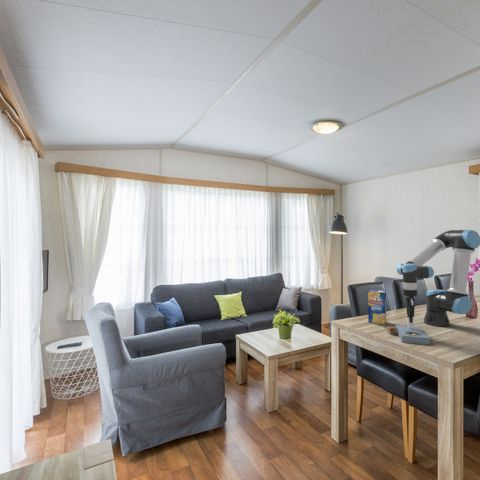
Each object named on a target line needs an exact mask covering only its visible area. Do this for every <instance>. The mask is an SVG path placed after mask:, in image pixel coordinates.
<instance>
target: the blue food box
mask: <svg viewBox="0 0 480 480" xmlns="http://www.w3.org/2000/svg"><path fill="white" fill-rule="evenodd" d="M367 296H368V297H367V303H368V305H367V307H368V310H367V313H368V317H367V318H368V319H367V321H368V323H370V324H378V323H379V324H380V325H386V323H387V290H383V289H380V290H379V289H368V291H367Z"/></svg>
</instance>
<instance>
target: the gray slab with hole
mask: <svg viewBox="0 0 480 480" xmlns="http://www.w3.org/2000/svg"><path fill="white" fill-rule="evenodd" d="M394 327H396V328H397V336H398V338H399V339H400V342H401V343H410V344H419V345H431V337H430V336H429V335H428V334H427V333H426V332H425V330H424V329H423V328H422V327H421V326H417V325H415V326H414V325H413V328H408V325H404V324H403V325H399V324H395V326H394ZM412 334H416V335H412Z"/></svg>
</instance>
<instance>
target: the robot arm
mask: <svg viewBox="0 0 480 480" xmlns="http://www.w3.org/2000/svg"><path fill="white" fill-rule="evenodd" d="M479 246H480V234H479V232H477V231H476V230H474V229H449V230H446V231H444V232H442V233H440V234H438V235H437V236H435V237H434V238H433V239H432V240H431V242H430V243H429V244H428V245H426V247H424V248H422V250H420V251H419V252H418V253H417V254H416V255H414V256H413V257H412V258H411V259H409V260H408V261H406V262H405V263H400V264H397V266H396V273H397V274H398V275H399V276H402V284H401V285H402V288H403V290H402V295H404V296H406V298H405V304H406V305H405V306H406V315H407V316H406V317H407V326H408V328H413V326H414V318H415V306H416V302H415V298H414V297H417V296H418V290H417V289H418V280H419V279H431V278H432V277H434V275H435V271H434V269H433V267H432V266H430V265H425V264H426V263H427V262H429V261H430V260H431V259H433V257H435V256H436V255H437V254H438V253H440V252H442V251H445V250H446V249H448V248H451V249H452V251H453V252H454V254H453V263H452V266H451V267H452V269H451V276H450V282H449V288H447V289H428V290H427V291H426V296H425V297H426V298H425V299H426V300H425V302H426V303H425V304H426V305H425V306H426V311H425V314H424V317H423V323H425V324H426V325H429V326H432V327H433V326H434V327H449V326H450V325H451V321H450V319H449V316H448V312H449V313H453V314H455V315H466V314H467V313H469V312H470V310H471V308H472V306H473V302H472V299H471V298H470V297H469V293H468V292H467V285H468V278H469V277H468V276H469V271H470V263H471V257H472V254H473V253H475V250H476V249H478V248H479Z"/></svg>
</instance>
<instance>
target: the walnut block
mask: <svg viewBox="0 0 480 480" xmlns="http://www.w3.org/2000/svg"><path fill="white" fill-rule="evenodd" d="M386 329H387V330H386V332H387V333H388V334H389V335H392V336H393V335H394V336H395V335H397V336H398V334H397V328H396V327H395V326H393V325H391V326H387V327H386Z"/></svg>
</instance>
